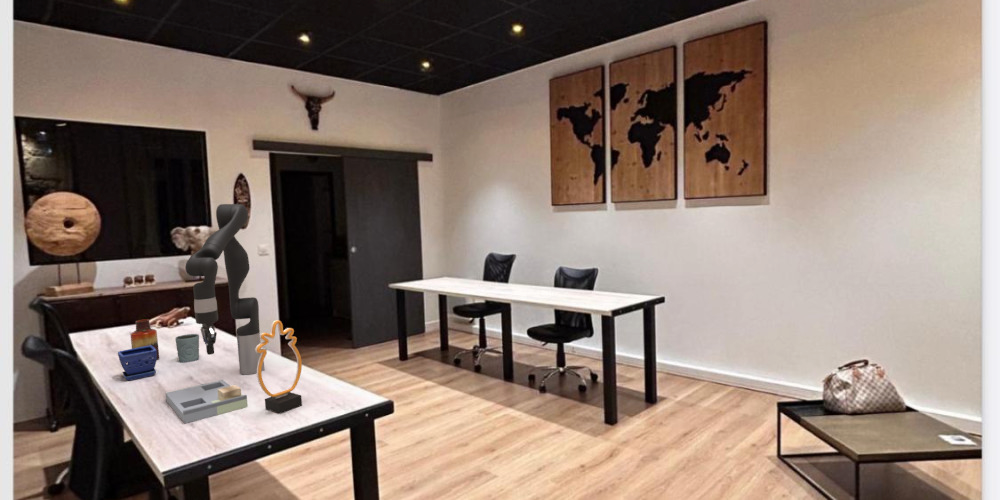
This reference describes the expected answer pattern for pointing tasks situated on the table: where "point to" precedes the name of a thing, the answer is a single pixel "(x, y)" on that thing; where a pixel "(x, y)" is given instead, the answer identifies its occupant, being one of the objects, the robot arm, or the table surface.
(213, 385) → the board
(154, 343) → the vase
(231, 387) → the beech block
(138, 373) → the flower pot
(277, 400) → the lamp
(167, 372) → the table surface
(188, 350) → the teal cup
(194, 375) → the table surface
